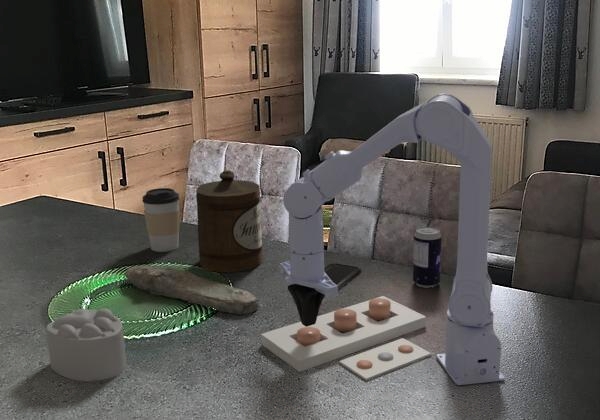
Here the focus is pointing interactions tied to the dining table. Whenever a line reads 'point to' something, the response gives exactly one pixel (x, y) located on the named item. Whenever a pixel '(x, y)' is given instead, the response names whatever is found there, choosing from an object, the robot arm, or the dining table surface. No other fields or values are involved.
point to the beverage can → (427, 257)
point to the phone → (341, 273)
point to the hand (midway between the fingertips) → (308, 323)
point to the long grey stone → (192, 289)
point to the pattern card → (384, 359)
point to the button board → (341, 335)
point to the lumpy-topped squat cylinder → (87, 345)
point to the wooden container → (229, 224)
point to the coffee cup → (162, 218)
